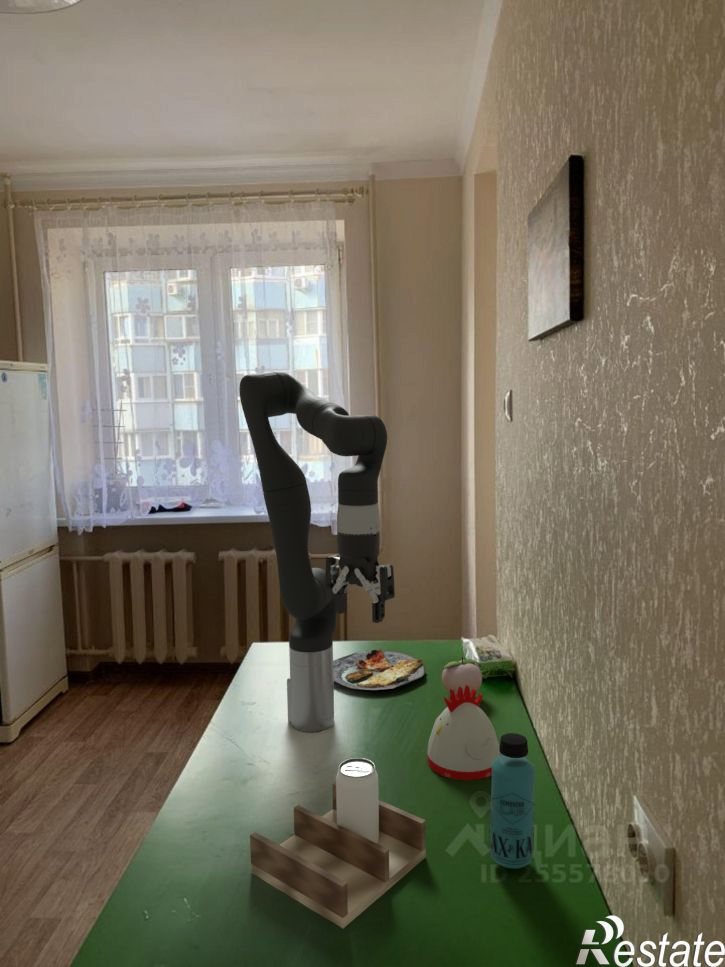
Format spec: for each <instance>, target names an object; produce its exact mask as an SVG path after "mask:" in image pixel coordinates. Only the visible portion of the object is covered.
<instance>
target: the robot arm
mask: <svg viewBox="0 0 725 967" xmlns="http://www.w3.org/2000/svg"><path fill="white" fill-rule="evenodd" d="M238 390H239V399H240V400H239V401H240V405H241V409H242V412H243V416H244V418H245V422H246V425H247V430H248V432H249V435H250V439H251V442H252V446H253V449H254V454H255V457H256V458H255V459H256V463H257V467H258V473H259V476H260V482H261V483H260V484H261V488H262V494H263V499H264V504H265V509H266V512H267V515H268V516H267V517H268V520H269V525H270V530H271V535H272V540H273V545H274V551H275V556H276V561H277V562H276V564H277V565H276V566H277V572H278V583H279V592H280V598H281V600H282V604H283V606H284V609H285V611H286V613H288V614H289V615H290V616H291V617H292V618H294V619H295V622H294V624H293V626H292V629H291V630H290V631H289V634H288V635H289V636H288V648H289V649H288V652H289V656H288V657H289V677H288V678H287V679H286V695H287V696H286V697H287V722H289V723H290V724H291V726H292V727H293V728H294V729H296V730H298V731H302V732H310V733H311V732H320V731H324V730H326V729H329V728H331V727H332V726H333V725H334V723H335V696H334V695H335V694H334V693H335V692H334V689H335V688H334V682H335V681H334V679H333V661H334V644H333V643H334V642H333V640H334V634H335V631H336V627H337V614H339V615H341V614H344V613H346V612H347V610H348V608H347V606H348V604H347V603H348V602H347V600H348V599H347V595H348V593H347V592H346V591H347V588H348V587H349V586H350V585H356V586H358V587H361V588H362V587H363V589H364V590H365V592H366V593H368V594H369V595H370V597H371V599H372V600H373V602H371V605H372V606H371V611H372V612H371V613H372V616H371V617H372V618H371V621H372V622H373V623H374V624H379V623H381V622H383V620H384V619H385V617H386V611H385V609H386V601H388V600H391V599H394V598H395V597H396V596H395V595H396V594H395V592H396V591H395V574H394V572H395V571H394V566H393V565H392V564H386V565H383V564H380V563H379V559H378V557H379V555H380V552H381V550H380V548H381V547H380V546H381V545H380V540H381V539H380V536H381V535H380V534H381V533H380V528H381V527H380V511H379V488H378V487H379V485H378V481H379V477H380V473H381V470H382V465H383V461H384V458H385V452H386V449H387V443H388V431H387V427H386V425H385V423H384V421H383V420H382V419H381V418H380V417H379V416H377V415H373V414H362V415H361V414H360V415H350V414H349V412H348V411H347V410H346V409H345V408H343V407H342V406H340V405H338V404H337V403H334V402H333V401H329V400H328V399H325V398H323V397H320V396H318V395H316V393H314V392H312V391H311V390H310V389H309V388H308V387H307V386H305V385H303V384H302V383H301V381H299V380H298V379H297V378H295V377H294V376H293V375H291V374H290V373H288V372H286V371H283V370H273V371H265V372H259V373H258V372H257V373H250V374H249V373H248V374H246V375H244V376H243V377H241V380H240V381H239V389H238ZM286 414H293V415H294V414H295V416H296V421H297V423H298V424H299V426H300V427H301V428H302V429H303V431H305V432H306V433H307V434H309V435H312V436H314V437H315V438H318V439H319V440H320V441H322V443H323V444H324V445H325V447H326V448H327V449H328V450H329V451H330V452H331V453H333V454H334V455H337V456H341V457H357V459H356V462H355V464H354V465H353V466H352V467H350V468H348V469H345V470H343V471H341V472H340V473H339V474H338V477H337V503H338V504H337V512H336V514H337V515H336V528H337V529H336V538H337V540H336V542H337V544H336V546H337V548H336V549H337V550H336V551H337V554H334V555H330V556H327V557H326V558H325V569H323V568H320V567H312V563H311V561H310V560H311V559H310V555H309V534H310V528H311V527H310V526H311V519H312V503H311V497H310V492H309V487H308V484H307V478H306V476H305V473H304V471H303V470H302V469H301V467H300V466H299V465H298V464H297V463H296V462H295V460H294V458H292V457H291V456H290V455H289V454H288V453H287V451H286V450H285V449H284V448H283V447H282V446H281V445H280V443H279V442H278V440H277V438H276V436H275V435H274V432H273V428H272V425H271V424H270V420H269V418H273V417H278V416H283V415H286ZM340 571H341V573H340ZM372 582H373V584H372Z"/></svg>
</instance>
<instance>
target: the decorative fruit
mask: <svg viewBox="0 0 725 967" xmlns="http://www.w3.org/2000/svg"><path fill="white" fill-rule="evenodd" d="M478 665H479V666H480V665H481V664H480V663H479V661H477V660H475V659H473V658H472V659H471V658H466V659H464V656H461V660H459V661H457V660H454V661H453V660H452V661H450V662H448V663H447V664H445V665H444V667H443V671H442V674H441V681H442V684H443V687H444V689H445V690H446V691H447V692H448V693H449V694H450V689H452V690H453V691H454V693H455V696H456V697H457V693H458V688H459V686H460V687H462V689H463V695H464V690H465V686H466V685H467V686H469V689H470V694H471V691H472V690H473V689H475V690H476V693H477V692H478V691H479V690H480V687H481V686H482V682H483V674H482V671H481V669H480V668H479V666H478Z"/></svg>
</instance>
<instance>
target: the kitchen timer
mask: <svg viewBox="0 0 725 967" xmlns="http://www.w3.org/2000/svg"><path fill="white" fill-rule="evenodd" d="M476 696H477V697H476ZM482 700H483V694H482V693H481V692H480V693H478V695H477V692H476V690H475V689H473V690H472V691H471V694H470V689H469V686H467V685H466V686H465V690H464V695H463V689H462V687H460V686H459V688H458V693H457V697H456V696H455V693H454V691H453V690H452V689H450V693H449V699H448V698H447V697H445V696H443V702H444V703H445V705H446V708H444V710H443V711H442V712H441V713H440V714H439V715H438V716H437V717H436V718H435V720H434V722H433V723H434V724H433V727H432V730H431V733H430V736H429V739H428V743H427V751H426V752H427V753H426V761H427V763H428V766H429V768H430V769H432V771H434V773H437V774H439V775H440V776H443V777H447V778H449V779H453V780H459V779H461V781H472V780H471V779H477V780H481V778H483V779H485V778H488V777H490V776H491V777H492V763H493V761H494V760H495V759H496V758H498V757H499V756H501V753H500V751H499V746H500V742H499V740H498V736H497V734H496V730H495V728H494V726H493V724H492V722H491V720H490V718H489V716H487V714H486V712H484V710H483V709H482V708H481V707H480V705H481V702H482Z"/></svg>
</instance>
